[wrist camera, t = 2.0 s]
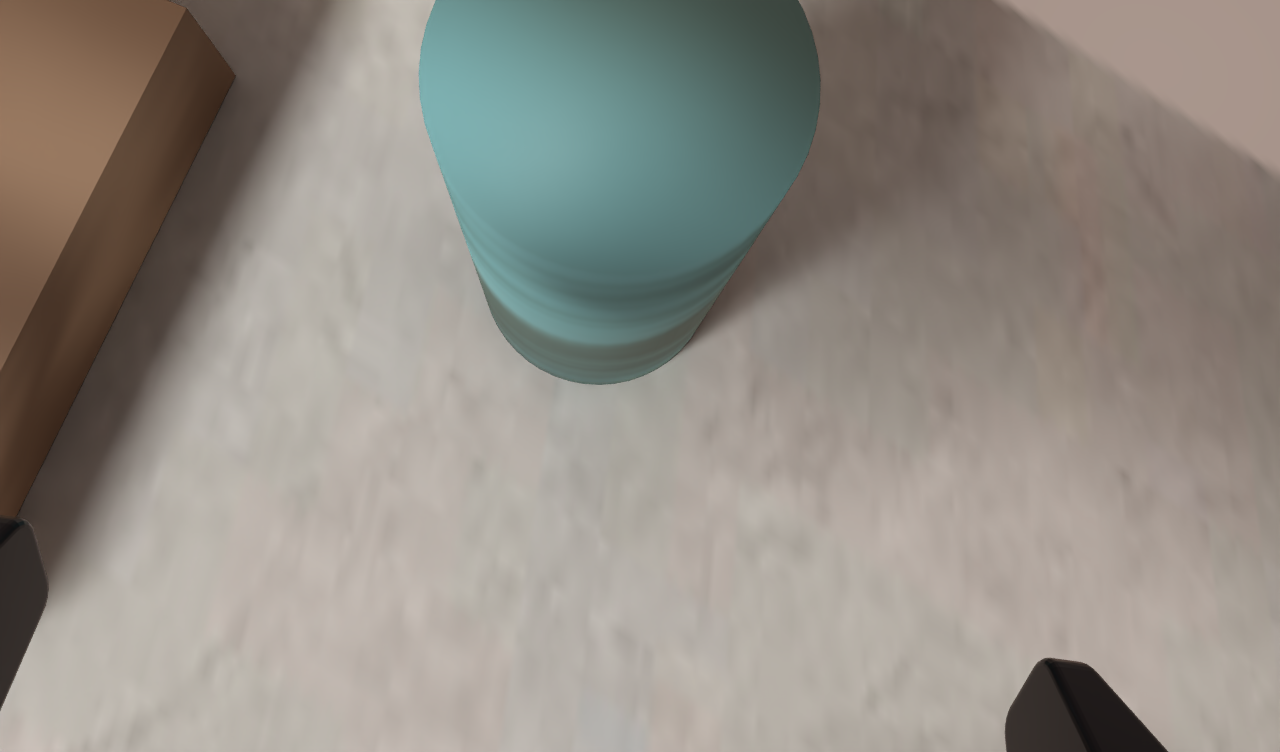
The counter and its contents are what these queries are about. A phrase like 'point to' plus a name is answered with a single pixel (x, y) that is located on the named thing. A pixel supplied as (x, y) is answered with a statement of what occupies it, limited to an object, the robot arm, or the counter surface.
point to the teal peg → (614, 161)
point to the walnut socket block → (84, 189)
